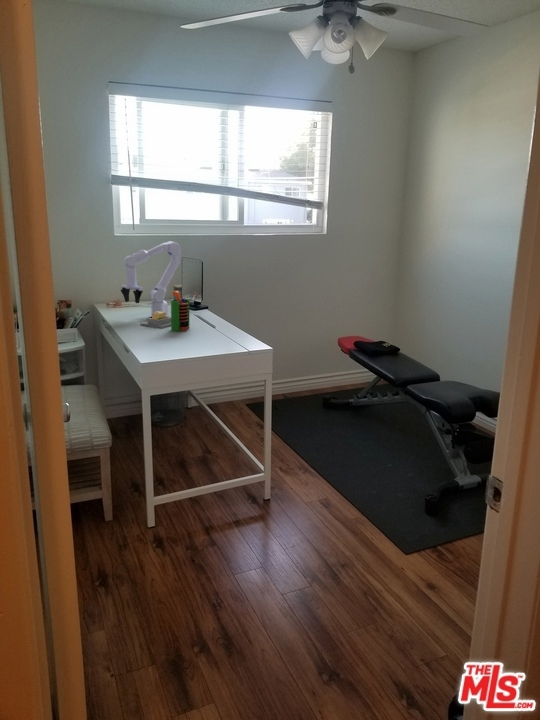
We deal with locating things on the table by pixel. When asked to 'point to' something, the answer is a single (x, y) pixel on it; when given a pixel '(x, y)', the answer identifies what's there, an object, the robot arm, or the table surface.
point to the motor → (179, 313)
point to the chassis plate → (158, 323)
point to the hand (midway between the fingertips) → (132, 302)
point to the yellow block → (159, 315)
